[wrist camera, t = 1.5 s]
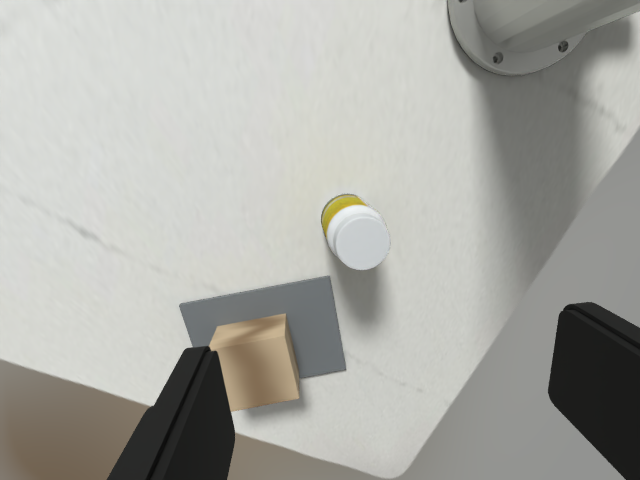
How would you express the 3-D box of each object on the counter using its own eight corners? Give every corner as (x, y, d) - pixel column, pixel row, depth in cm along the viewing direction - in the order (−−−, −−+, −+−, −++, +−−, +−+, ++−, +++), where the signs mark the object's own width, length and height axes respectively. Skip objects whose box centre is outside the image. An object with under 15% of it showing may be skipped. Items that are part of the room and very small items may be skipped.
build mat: (329, 275, 32) (329, 277, 32) (345, 366, 36) (346, 369, 35) (180, 303, 32) (178, 305, 32) (210, 393, 35) (209, 395, 35)
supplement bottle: (311, 226, 31) (316, 255, 23) (337, 183, 30) (352, 198, 22) (353, 250, 32) (372, 286, 24) (380, 209, 31) (409, 232, 23)
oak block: (285, 313, 33) (284, 335, 29) (299, 370, 35) (299, 398, 31) (217, 326, 33) (207, 350, 29) (234, 382, 35) (226, 412, 31)
